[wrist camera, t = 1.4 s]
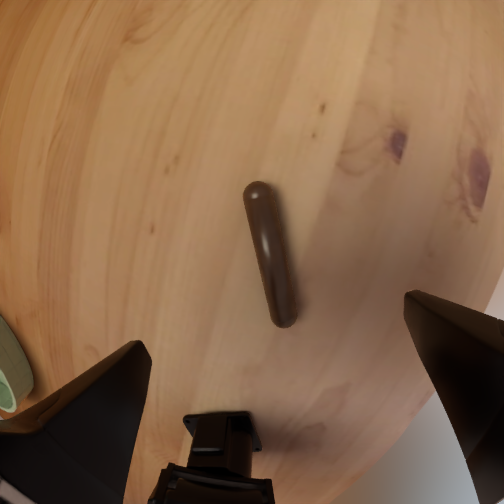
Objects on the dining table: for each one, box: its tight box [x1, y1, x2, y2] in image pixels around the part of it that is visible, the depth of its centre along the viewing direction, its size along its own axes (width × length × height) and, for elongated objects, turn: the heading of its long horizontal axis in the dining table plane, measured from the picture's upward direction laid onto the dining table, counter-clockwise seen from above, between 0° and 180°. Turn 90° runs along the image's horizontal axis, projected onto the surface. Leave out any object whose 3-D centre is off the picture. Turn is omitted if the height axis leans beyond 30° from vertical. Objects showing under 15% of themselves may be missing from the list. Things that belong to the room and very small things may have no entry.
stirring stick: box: [243, 181, 297, 328], centre depth 18 cm, size 10×2×2 cm, turn 13°
